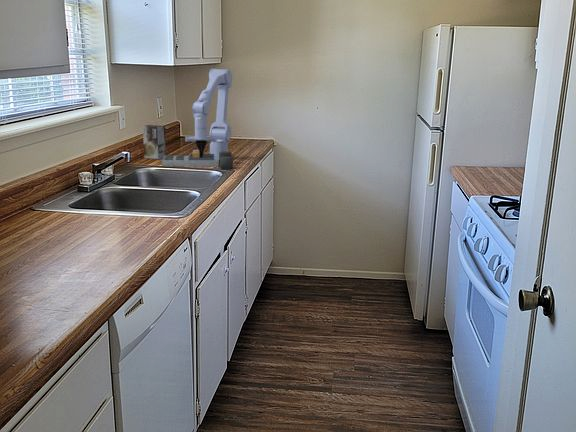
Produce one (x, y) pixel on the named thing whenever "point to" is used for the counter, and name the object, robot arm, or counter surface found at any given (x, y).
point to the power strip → (191, 160)
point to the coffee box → (154, 141)
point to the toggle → (195, 154)
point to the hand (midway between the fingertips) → (201, 156)
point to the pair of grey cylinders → (226, 160)
